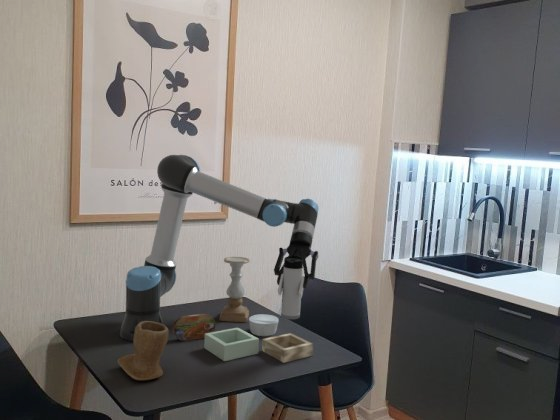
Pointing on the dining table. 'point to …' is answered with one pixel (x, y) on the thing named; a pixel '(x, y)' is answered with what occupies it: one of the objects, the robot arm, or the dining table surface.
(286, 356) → the brown square tray
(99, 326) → the dining table surface
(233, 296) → the candle holder
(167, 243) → the robot arm
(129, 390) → the dining table surface
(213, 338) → the mint green square tray
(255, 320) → the ramekin
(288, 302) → the travel mug
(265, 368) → the dining table surface
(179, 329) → the tin
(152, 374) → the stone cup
